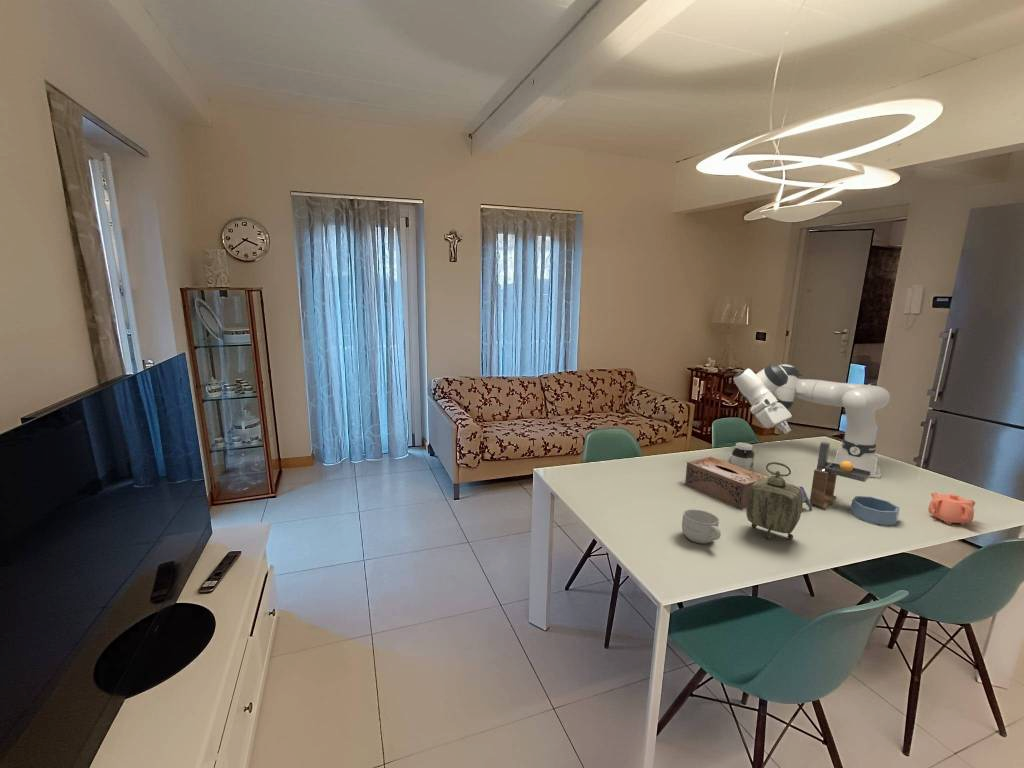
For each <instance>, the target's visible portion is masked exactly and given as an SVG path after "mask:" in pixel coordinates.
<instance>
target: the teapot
mask: <svg viewBox="0 0 1024 768" xmlns="http://www.w3.org/2000/svg"><path fill="white" fill-rule="evenodd" d="M930 495H931V497H932V499H931V500H930V502H929V505H928V508H927V509H928V513H929V514H931V515H932V518H935V519H938V518H939V520H942V521H944V524H945V523H946V525H948V524H953V523H955V524H958V523H960V524H959V525H961V524H962V525H961V526H966V525H965V524H969V523H972V521H973V520H974V517H975V509H974V508H975V507H974V506H975V505H976V501H974V500H972V499H966V498H964V497H961V496H959V495H958V494H955V493H949V494H948V493H946V494H944V493H941V494H939V493H938V492H931V493H930Z"/></svg>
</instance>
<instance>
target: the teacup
mask: <svg viewBox="0 0 1024 768" xmlns="http://www.w3.org/2000/svg"><path fill="white" fill-rule="evenodd" d="M719 523H720V518H719V517H718V516H717V515H715V514H714V513H712V512H709V511H706V510H702V509H696V508H695V509H694V508H689V509H685V510H684V511H682V521H681V530H682V533H683V534H684V535H685V536H686V537H687V539H688V540H689V541H691V542H693V543H697V544H708V543H711V542H713V541H716V540H719V539H720V538H721V533H722V532H721V529H720V528H719Z"/></svg>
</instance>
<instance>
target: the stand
mask: <svg viewBox="0 0 1024 768" xmlns="http://www.w3.org/2000/svg"><path fill="white" fill-rule="evenodd" d="M830 463H832V462H831V461H827V466H828V465H829V464H830ZM837 477H838V475H834V474H830V473H828V472H825V471H821V470H817V468H815V469H814V470H813V477H812V484H811V489H810V498H808V499H809V501H810V503H811V506H812V508H817V509H819V510H821V511H826V510H827V509H828V508H829V507H830V506H831V505H832V504H833V503H834V502H835V501H836V500H837V496H836V495H835V488H836V482H837ZM805 505H806V506H808V505H807V504H806V503H805Z"/></svg>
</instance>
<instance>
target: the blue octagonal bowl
mask: <svg viewBox="0 0 1024 768" xmlns="http://www.w3.org/2000/svg"><path fill="white" fill-rule="evenodd" d="M850 505H851V506H850V513H851V514H852V515H853V516H854V517H855V518H857V519H859V520H861V521H862V522H863V521H864V522H866V523H869V524H871V525H879V526H885V527H892V526H895V525H897V522H898V520H899V514H900V509H901V508H900V507H899V506H897V505H896V504H894V503H892V502H890V501H888V500H885V499H881V498H877V497H874V496H865V495H864V496H862V495H861V496H860V495H859V496H858V495H856V496H855V497H853V499H851V504H850Z"/></svg>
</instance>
